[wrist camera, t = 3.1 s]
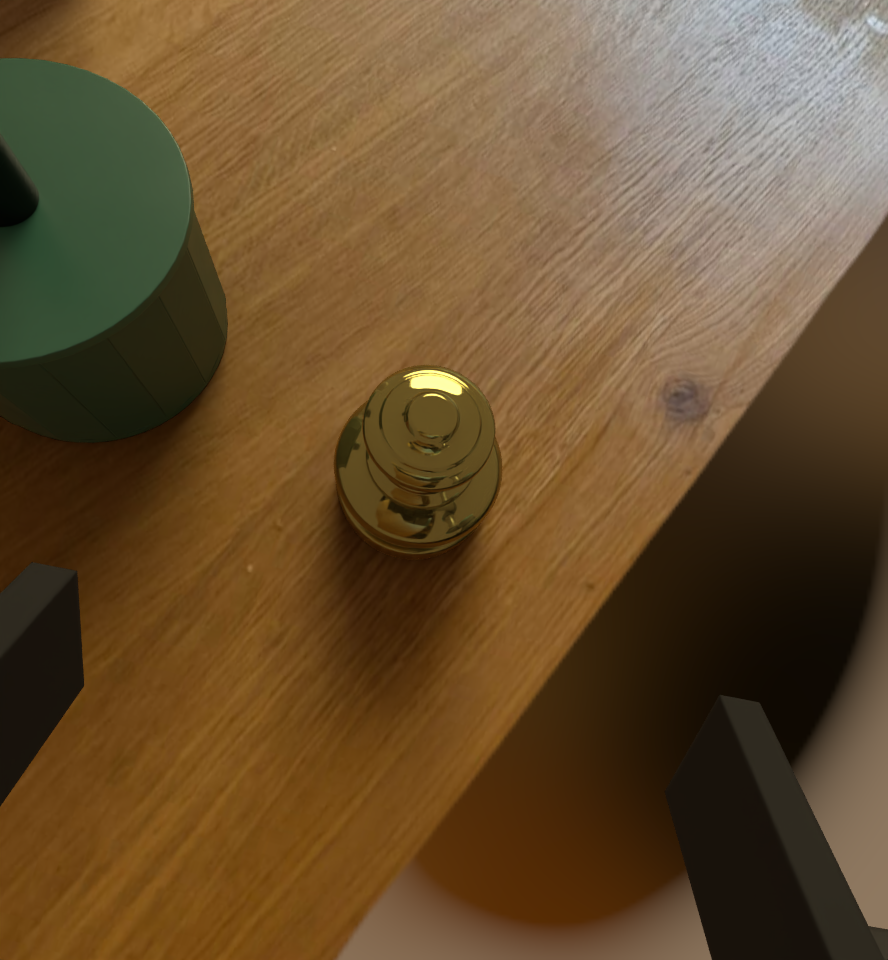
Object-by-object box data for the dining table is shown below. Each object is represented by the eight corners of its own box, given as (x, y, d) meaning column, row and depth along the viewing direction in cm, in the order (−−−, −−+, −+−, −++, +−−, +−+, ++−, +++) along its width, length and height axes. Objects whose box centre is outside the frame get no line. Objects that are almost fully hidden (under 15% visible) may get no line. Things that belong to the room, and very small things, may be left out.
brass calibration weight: (437, 591, 32) (469, 557, 23) (307, 509, 32) (284, 441, 23) (512, 468, 34) (570, 390, 25) (389, 392, 35) (400, 286, 25)
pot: (227, 437, 33) (180, 355, 24) (-48, 448, 31) (-203, 363, 23) (228, 221, 36) (186, 81, 28) (-21, 220, 35) (-148, 70, 26)
